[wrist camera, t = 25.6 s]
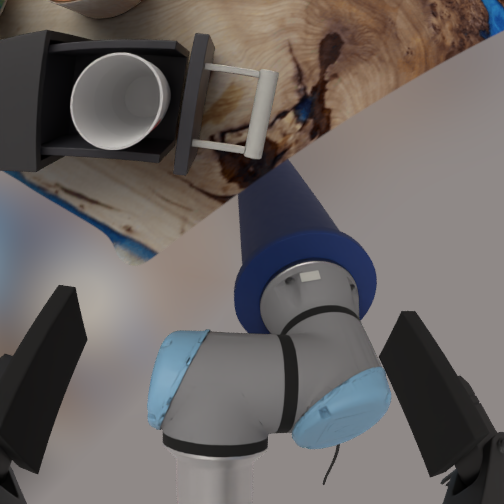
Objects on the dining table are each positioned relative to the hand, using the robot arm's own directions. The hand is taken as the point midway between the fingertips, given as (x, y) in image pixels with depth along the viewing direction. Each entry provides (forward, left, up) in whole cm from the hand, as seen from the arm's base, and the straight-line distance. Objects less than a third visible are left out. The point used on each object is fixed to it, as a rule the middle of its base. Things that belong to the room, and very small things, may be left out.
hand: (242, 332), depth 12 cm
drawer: (+6, +10, -27) cm, 29 cm away
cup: (+6, +11, -26) cm, 29 cm away
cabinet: (+6, +28, -28) cm, 40 cm away
